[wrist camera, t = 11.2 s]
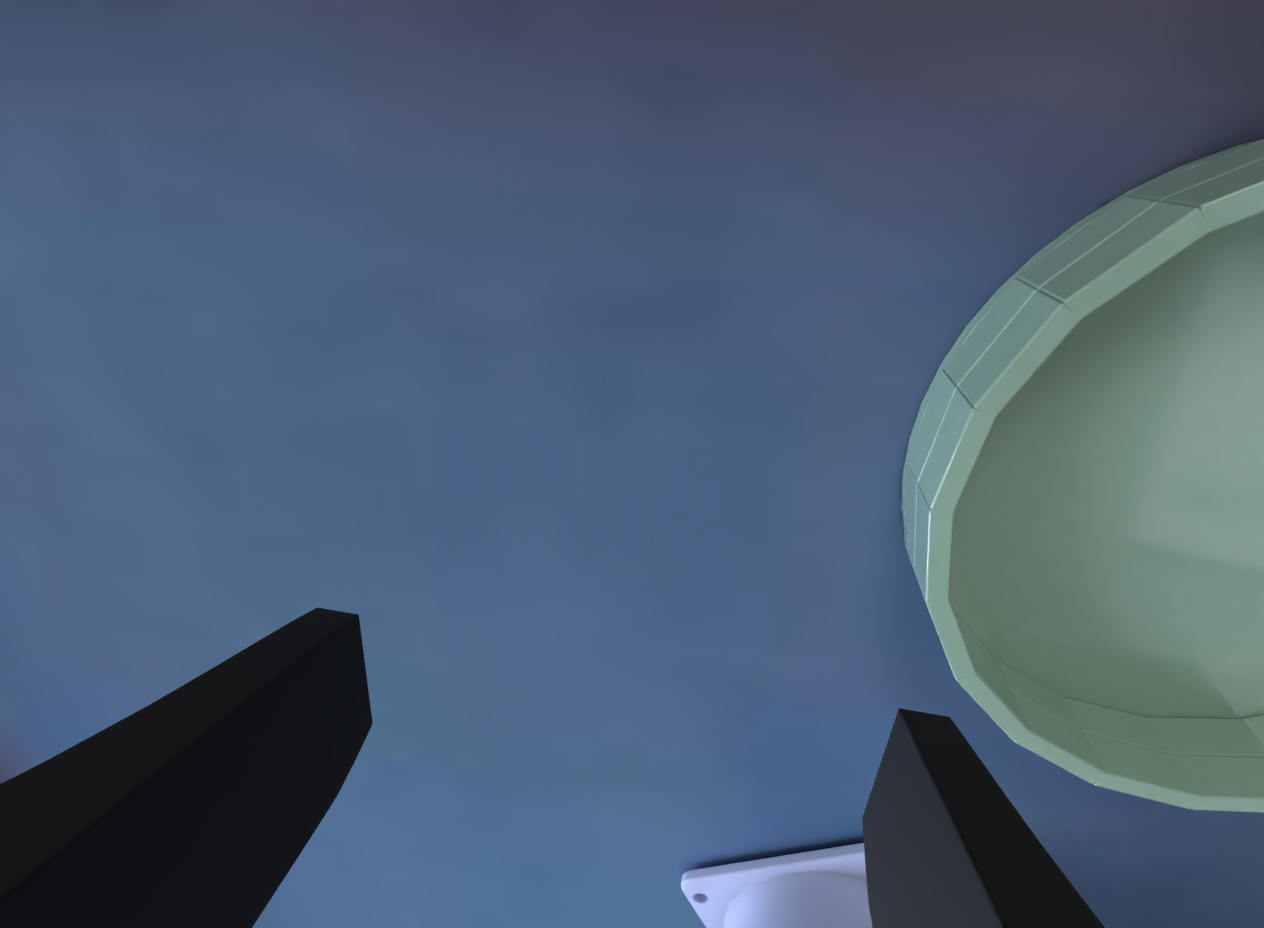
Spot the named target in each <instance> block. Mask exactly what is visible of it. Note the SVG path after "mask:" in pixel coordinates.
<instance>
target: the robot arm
mask: <svg viewBox="0 0 1264 928" xmlns="http://www.w3.org/2000/svg"><path fill="white" fill-rule="evenodd" d="M371 726H372V716H371V708H370V701H369V693H368V685H367V677H366V669H365V662H364V654H363V646H362V638H361V630H360V622H359V615H357V614H351V613H345V612H340V611H334V610H328V609H322V608H316V609H314V610H312V611H310V612H308V613H306V614H305V615H303V616H301V617H299V618H297V619H296V620H294V621H292V622H290V623H289V624H287V625H285V626H283V627H282V628H280V629H278V630H276V631H275V632H273V633H271V634H270V635H268V636H266V637H265V638H263V639H261V640H260V641H258V642H256V643H254V644H253V645H251V646H249V647H248V648H246V649H244V650H243V651H241V652H239V653H238V654H236V655H234V656H233V657H231V658H229V659H228V660H226V661H224V662H222V663H221V664H219V665H217V666H216V667H214V668H212V669H211V670H209V671H207V672H205V673H204V674H202V675H200V676H199V677H197V678H195V679H193V680H192V681H190V682H188V683H186V684H185V685H183V686H181V687H180V688H178V689H176V690H174V691H173V692H171V693H169V694H168V695H166V696H164V697H162V698H161V699H159V700H157V701H156V702H154V703H152V704H150V705H149V706H147V707H145V708H143V709H141V710H140V711H138V712H136V713H134V714H132V715H130V716H128V717H127V718H125V719H123V720H121V721H119V722H117V723H116V724H114V725H112V726H110V727H108V728H106V729H104V730H103V731H101V732H99V733H97V734H95V735H93V736H92V737H90V738H88V739H86V740H84V741H82V742H80V743H79V744H77V745H75V746H73V747H71V748H69V749H67V750H66V751H64V752H62V753H60V754H58V755H56V756H55V757H53V758H51V759H49V760H47V761H45V762H43V763H41V764H39V765H37V766H36V767H34V768H32V769H30V770H28V771H26V772H24V773H22V774H20V775H18V776H16V777H14V778H12V779H10V780H8V781H6V782H4V783H2V784H0V928H252V927H253V925H254V924H255V922H256V921H257V919H258V918H259V916H260V914H261V913H262V911H263V910H264V908H265V907H266V905H267V904H268V902H269V901H270V899H271V898H272V896H273V895H274V893H275V891H276V890H277V888H278V887H279V885H280V884H281V882H282V881H283V879H284V878H285V876H286V875H287V873H288V872H289V870H290V868H291V867H292V865H293V864H294V862H295V861H296V859H297V858H298V856H299V855H300V853H301V852H302V850H303V848H304V847H305V845H306V844H307V842H308V841H309V839H310V838H311V836H312V834H313V833H314V831H315V830H316V828H317V827H318V825H319V823H320V822H321V820H322V819H323V817H324V816H325V814H326V813H327V811H328V809H329V808H330V806H331V805H332V803H333V801H334V800H335V798H336V797H337V795H338V793H339V791H340V789H341V787H342V785H343V783H344V781H345V779H346V777H347V775H348V773H349V771H350V770H351V768H352V766H353V764H354V762H355V760H356V757H357V755H358V753H359V751H360V749H361V747H362V745H363V743H364V741H365V739H366V736H367V734H368V732H369V730H370V728H371ZM862 819H863V835H864V843H858V844H852V845H845V846H839V847H833V848H827V849H820V850H814V851H808V852H801V853H795V854H789V855H783V856H776V857H770V858H764V859H758V860H751V861H745V862H739V863H732V864H726V865H720V866H714V867H707V868H701V869H695V870H690V871H687V872H685V873H684V874H683V875H682V880H681V888H682V890H683V892H684V893H685V895H686V897H687V898H688V900H689V901H690V903H691V904H692V906H693V908H694V909H695V911H696V912H697V914H698V915H699V917H700V918H701V920H702V922H703V923H704V925H705V926H706V928H1105V927H1104V926H1103V925H1102V923H1101V922H1100V921H1099V920H1098V918H1097V917H1096V916H1095V914H1094V913H1093V912H1092V911H1091V909H1090V908H1089V907H1088V905H1087V904H1086V903H1085V901H1084V900H1083V899H1082V897H1081V896H1080V895H1079V893H1078V892H1077V891H1076V889H1075V888H1074V887H1073V886H1072V884H1071V883H1070V882H1069V880H1068V879H1067V878H1066V876H1065V875H1064V874H1063V872H1062V871H1061V870H1060V868H1059V867H1058V866H1057V865H1056V863H1055V862H1054V861H1053V859H1052V858H1051V857H1050V855H1049V854H1048V853H1047V851H1046V850H1045V849H1044V847H1043V846H1042V845H1041V843H1040V842H1039V841H1038V839H1037V838H1036V836H1035V835H1034V834H1033V832H1032V831H1031V830H1030V828H1029V827H1028V826H1027V824H1026V823H1025V821H1024V820H1023V819H1022V817H1021V816H1020V814H1019V813H1018V812H1017V810H1016V809H1015V808H1014V806H1013V805H1012V803H1011V802H1010V801H1009V799H1008V798H1007V796H1006V795H1005V794H1004V792H1003V791H1002V789H1001V788H1000V787H999V785H998V784H997V782H996V781H995V780H994V778H993V777H992V775H991V774H990V773H989V771H988V770H987V768H986V767H985V766H984V764H983V763H982V761H981V760H980V759H979V757H978V756H977V754H976V753H975V752H974V750H973V749H972V747H971V746H970V745H969V743H968V742H967V740H966V739H965V738H964V736H963V735H962V733H961V732H960V731H959V729H958V728H957V727H956V725H955V724H954V722H953V721H952V720H951V718H950V717H946V716H940V715H934V714H928V713H923V712H917V711H911V710H905V709H899V710H898V713H897V716H896V719H895V722H894V725H893V728H892V731H891V734H890V737H889V740H888V743H887V746H886V749H885V752H884V755H883V758H882V761H881V764H880V767H879V770H878V773H877V776H876V779H875V782H874V785H873V788H872V791H871V794H870V797H869V800H868V803H867V806H866V809H865V812H864V815H863V818H862Z"/></svg>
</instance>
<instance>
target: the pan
mask: <svg viewBox="0 0 1264 928" xmlns="http://www.w3.org/2000/svg"><path fill="white" fill-rule="evenodd" d="M902 515H903V523H904V531H905V536H904V542H905V547H906V550H907V553H908V556H909V558H910V561H911V564H912V567H913V569H914V572H915V575H916V578H917V581H918V583H919V586H920V589H921V592H922V594H923V597H924V600H925V603H926V605H927V608H928V611H929V613H930V616H931V618H932V621H933V624H934V626H935V629H936V631H937V634H938V637H939V639H940V642H941V644H942V647H943V650H944V652H945V655H946V657H947V660H948V663H949V665H950V668H951V670H952V673H953V676H954V678H955V679H956V681H957V682H958V683H959V684H960V685H961V686H962V687H963V688H964V689H965V690H966V691H967V692H968V694H969V695H970V696H971V697H972V698H973V699H974V700H975V701H976V702H977V703H978V704H979V705H980V706H981V707H982V709H983V710H984V711H985V712H986V713H987V714H988V715H989V716H990V717H991V718H992V719H993V720H994V721H995V722H996V724H997V725H998V726H999V727H1000V728H1001V729H1002V730H1003V731H1004V732H1005V733H1006V734H1007V735H1008V736H1009V737H1010V738H1011V739H1012V740H1013V741H1014V742H1015V743H1017V744H1019V745H1021V746H1023V747H1025V748H1026V749H1028V750H1030V751H1032V752H1034V753H1036V754H1037V755H1039V756H1041V757H1043V758H1045V759H1047V760H1048V761H1050V762H1052V763H1054V764H1056V765H1058V766H1059V767H1061V768H1063V769H1065V770H1067V771H1069V772H1070V773H1072V774H1074V775H1076V776H1078V777H1080V778H1081V779H1083V780H1085V781H1087V782H1089V783H1091V784H1094V785H1095V786H1099V787H1103V788H1107V789H1111V790H1115V791H1118V792H1122V793H1126V794H1130V795H1134V796H1138V797H1142V798H1146V799H1150V800H1154V801H1158V802H1162V803H1166V804H1170V805H1174V806H1178V807H1182V808H1186V809H1190V810H1192V809H1194V810H1204V811H1229V812H1255V813H1264V139H1261V140H1258V141H1254V142H1250V143H1245V144H1241V145H1238V146H1235V147H1232V148H1229V149H1227V150H1224V151H1221V152H1218V153H1215V154H1213V155H1210V156H1207V157H1204V158H1201V159H1199V160H1196V161H1193V162H1190V163H1187V164H1185V165H1182V166H1180V167H1178V168H1175V169H1173V170H1171V171H1169V172H1167V173H1165V174H1163V175H1161V176H1159V177H1157V178H1154V179H1152V180H1150V181H1148V182H1146V183H1144V184H1142V185H1140V186H1138V187H1136V188H1134V189H1131V190H1129V191H1127V192H1126V193H1124V194H1122V195H1121V196H1119V197H1118V198H1116V199H1114V200H1113V201H1111V202H1109V203H1108V204H1106V205H1104V206H1103V207H1101V208H1099V209H1098V210H1096V211H1095V212H1093V213H1091V214H1090V215H1088V216H1086V217H1085V218H1083V219H1081V220H1080V221H1078V222H1077V223H1076V224H1074V225H1073V226H1072V227H1070V228H1069V229H1068V230H1066V231H1065V232H1064V233H1062V234H1061V235H1060V236H1058V237H1057V238H1056V239H1055V240H1053V241H1052V242H1051V243H1049V244H1048V245H1047V246H1045V247H1044V248H1043V249H1041V250H1040V251H1039V252H1037V253H1036V254H1035V255H1034V256H1033V257H1032V258H1031V259H1029V260H1028V261H1027V262H1026V263H1025V264H1024V265H1023V266H1022V267H1021V268H1020V269H1019V270H1018V271H1017V272H1016V273H1015V274H1014V275H1012V276H1011V277H1010V278H1009V279H1008V280H1007V281H1006V282H1005V283H1004V284H1003V285H1002V286H1001V287H1000V288H999V289H998V290H997V291H996V292H995V293H994V294H993V295H992V297H991V298H990V299H989V300H988V301H987V302H986V304H985V305H984V306H983V307H982V308H981V310H980V311H979V312H978V313H977V314H976V315H975V317H974V318H973V319H972V320H971V321H970V322H969V324H968V325H967V326H966V327H965V329H964V330H963V332H962V333H961V335H960V336H959V338H958V339H957V341H956V342H955V344H954V345H953V347H952V348H951V350H950V351H949V353H948V354H947V356H946V357H945V359H944V360H943V362H942V363H941V365H940V367H939V369H938V371H937V373H936V375H935V377H934V379H933V381H932V383H931V385H930V387H929V389H928V391H927V393H926V395H925V397H924V399H923V401H922V403H921V406H920V409H919V412H918V415H917V418H916V421H915V424H914V427H913V430H912V433H911V435H910V439H909V444H908V449H907V454H906V460H905V465H904V470H903V482H902Z"/></svg>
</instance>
